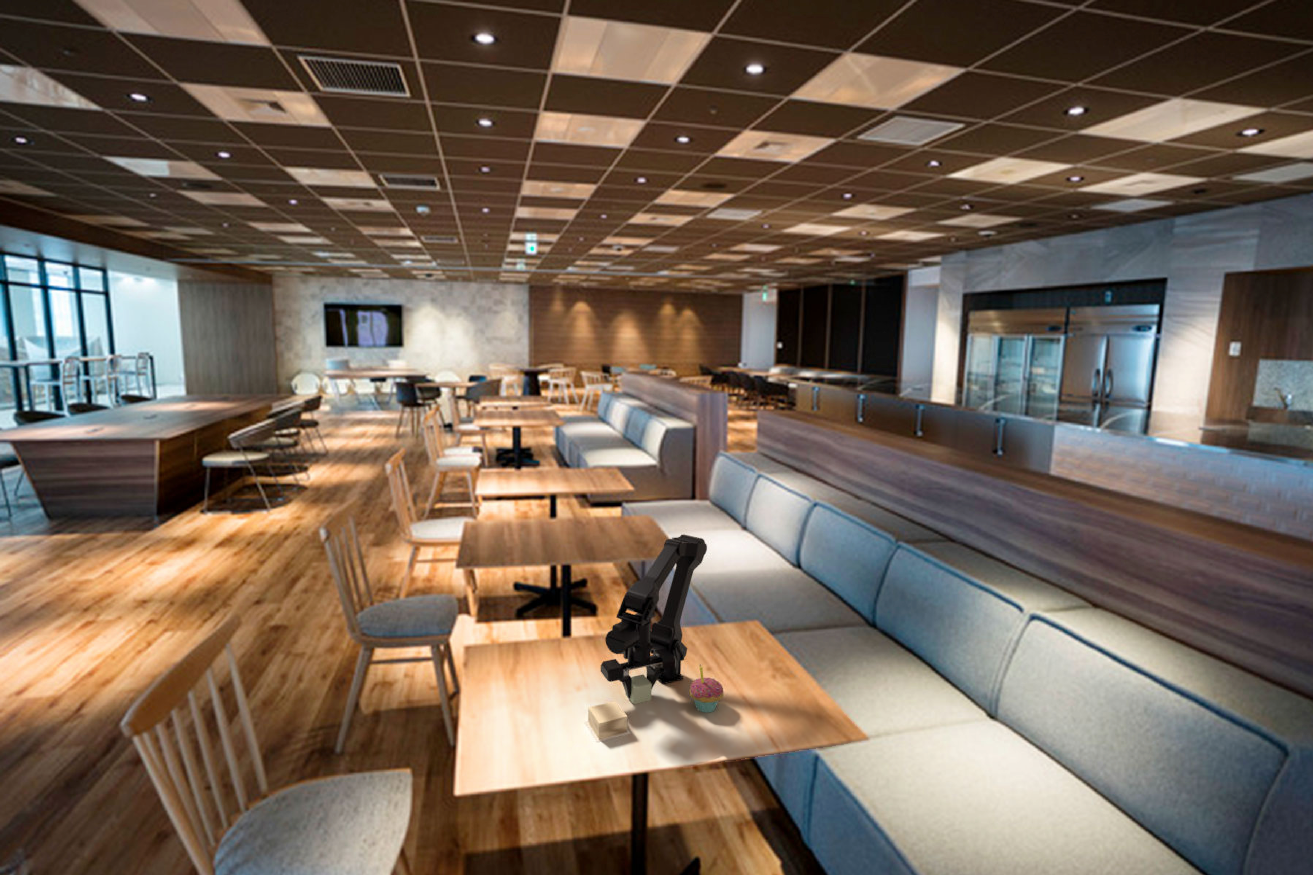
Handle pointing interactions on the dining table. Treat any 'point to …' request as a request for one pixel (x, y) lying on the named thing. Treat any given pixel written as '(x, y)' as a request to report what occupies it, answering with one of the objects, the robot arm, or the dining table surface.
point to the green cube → (640, 689)
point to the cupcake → (706, 692)
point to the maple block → (607, 720)
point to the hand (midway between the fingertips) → (638, 695)
